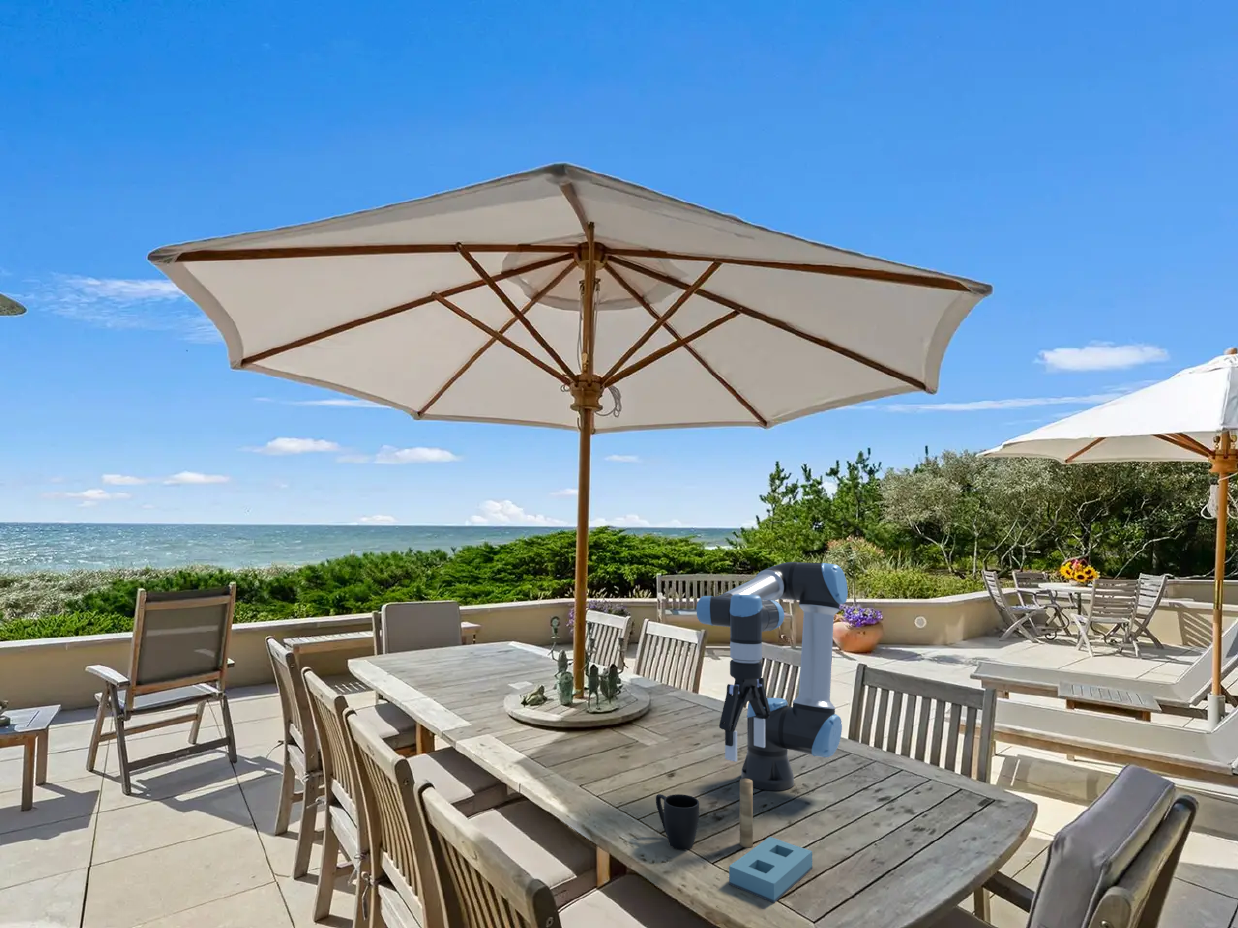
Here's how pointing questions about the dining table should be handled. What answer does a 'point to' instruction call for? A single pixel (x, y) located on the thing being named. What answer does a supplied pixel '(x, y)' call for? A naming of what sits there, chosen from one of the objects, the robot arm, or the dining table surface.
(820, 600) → the robot arm
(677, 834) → the mug
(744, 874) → the bore slab
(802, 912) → the dining table surface
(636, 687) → the dining table surface
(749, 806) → the dowel
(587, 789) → the dining table surface
